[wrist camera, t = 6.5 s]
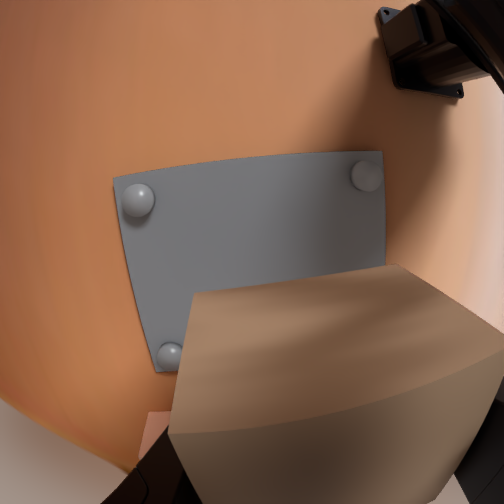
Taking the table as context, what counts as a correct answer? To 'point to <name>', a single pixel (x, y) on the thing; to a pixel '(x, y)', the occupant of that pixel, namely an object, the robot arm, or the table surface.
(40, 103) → the table surface
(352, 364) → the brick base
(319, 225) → the baseplate
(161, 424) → the pink cube
